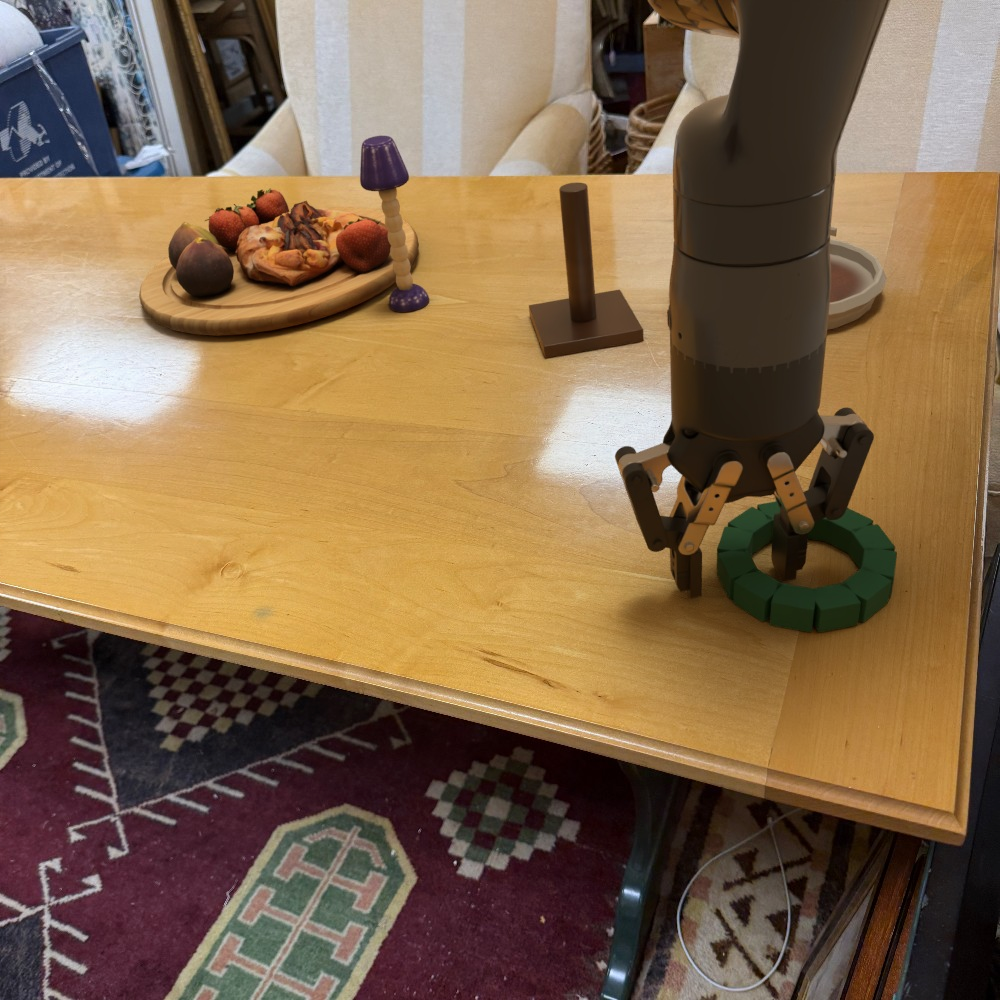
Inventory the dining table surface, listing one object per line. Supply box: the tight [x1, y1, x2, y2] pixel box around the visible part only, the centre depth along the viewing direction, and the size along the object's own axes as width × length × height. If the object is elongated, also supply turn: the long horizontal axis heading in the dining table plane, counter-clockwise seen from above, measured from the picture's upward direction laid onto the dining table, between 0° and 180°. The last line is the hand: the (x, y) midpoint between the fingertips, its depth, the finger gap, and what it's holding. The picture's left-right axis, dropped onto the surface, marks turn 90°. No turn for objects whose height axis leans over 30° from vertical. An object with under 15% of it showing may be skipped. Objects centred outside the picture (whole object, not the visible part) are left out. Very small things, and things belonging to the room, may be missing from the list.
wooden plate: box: [138, 187, 420, 336], centre depth 103 cm, size 32×32×8 cm
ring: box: [716, 500, 898, 633], centre depth 55 cm, size 10×10×2 cm
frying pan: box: [827, 226, 887, 331], centre depth 88 cm, size 17×3×28 cm
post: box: [528, 182, 645, 359], centre depth 81 cm, size 9×9×13 cm
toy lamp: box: [359, 135, 430, 313], centre depth 89 cm, size 5×5×17 cm
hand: (737, 579), depth 55 cm, fingers open, 5 cm apart
